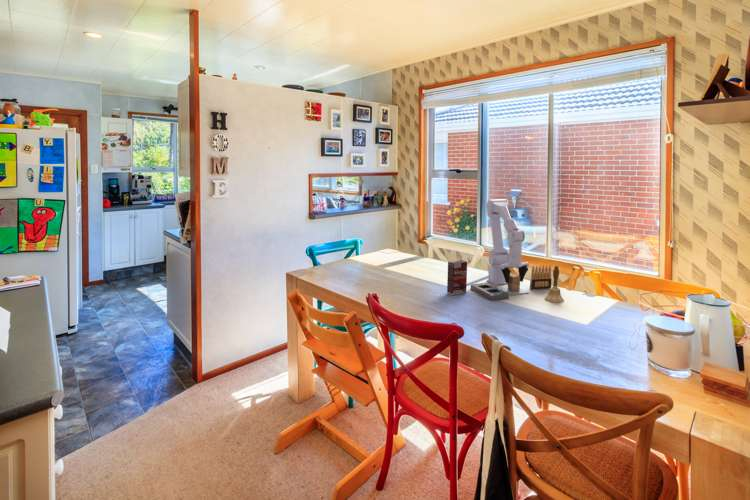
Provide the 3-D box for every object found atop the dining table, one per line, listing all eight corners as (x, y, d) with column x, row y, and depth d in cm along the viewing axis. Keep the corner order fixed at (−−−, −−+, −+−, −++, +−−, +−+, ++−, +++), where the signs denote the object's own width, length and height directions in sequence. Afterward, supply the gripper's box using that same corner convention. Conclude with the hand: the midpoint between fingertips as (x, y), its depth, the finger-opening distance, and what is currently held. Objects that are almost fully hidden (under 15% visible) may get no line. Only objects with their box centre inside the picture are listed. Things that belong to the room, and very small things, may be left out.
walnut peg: (507, 289, 207) (508, 275, 206) (514, 289, 208) (515, 274, 207) (512, 292, 203) (513, 277, 202) (519, 291, 204) (520, 276, 203)
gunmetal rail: (470, 289, 212) (470, 284, 211) (486, 287, 214) (486, 282, 214) (491, 300, 193) (491, 295, 192) (508, 298, 195) (508, 293, 195)
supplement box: (453, 295, 202) (453, 263, 199) (446, 293, 206) (447, 261, 203) (467, 293, 206) (467, 261, 202) (460, 290, 210) (461, 259, 207)
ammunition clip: (531, 289, 209) (532, 266, 206) (529, 288, 211) (530, 265, 208) (551, 288, 210) (552, 265, 208) (549, 287, 212) (550, 264, 210)
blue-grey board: (499, 289, 209) (499, 288, 209) (516, 288, 212) (516, 286, 212) (510, 295, 200) (510, 294, 200) (528, 293, 202) (528, 292, 202)
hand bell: (567, 300, 191) (570, 266, 188) (555, 303, 187) (558, 269, 184) (552, 296, 198) (554, 263, 195) (540, 299, 194) (542, 265, 191)
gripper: (506, 257, 197) (505, 285, 199) (533, 255, 200) (531, 282, 203) (498, 254, 203) (497, 281, 206) (524, 252, 207) (523, 279, 210)
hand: (514, 282), depth 205 cm, fingers open, 7 cm apart
